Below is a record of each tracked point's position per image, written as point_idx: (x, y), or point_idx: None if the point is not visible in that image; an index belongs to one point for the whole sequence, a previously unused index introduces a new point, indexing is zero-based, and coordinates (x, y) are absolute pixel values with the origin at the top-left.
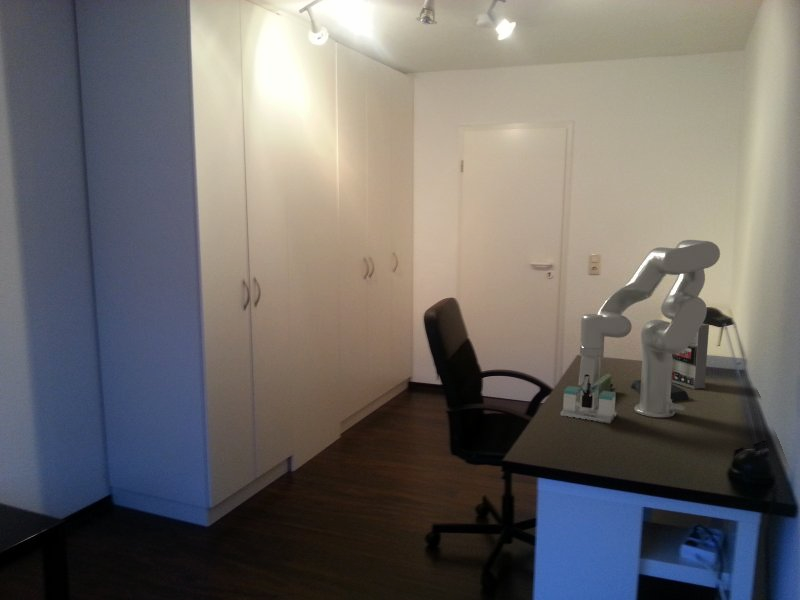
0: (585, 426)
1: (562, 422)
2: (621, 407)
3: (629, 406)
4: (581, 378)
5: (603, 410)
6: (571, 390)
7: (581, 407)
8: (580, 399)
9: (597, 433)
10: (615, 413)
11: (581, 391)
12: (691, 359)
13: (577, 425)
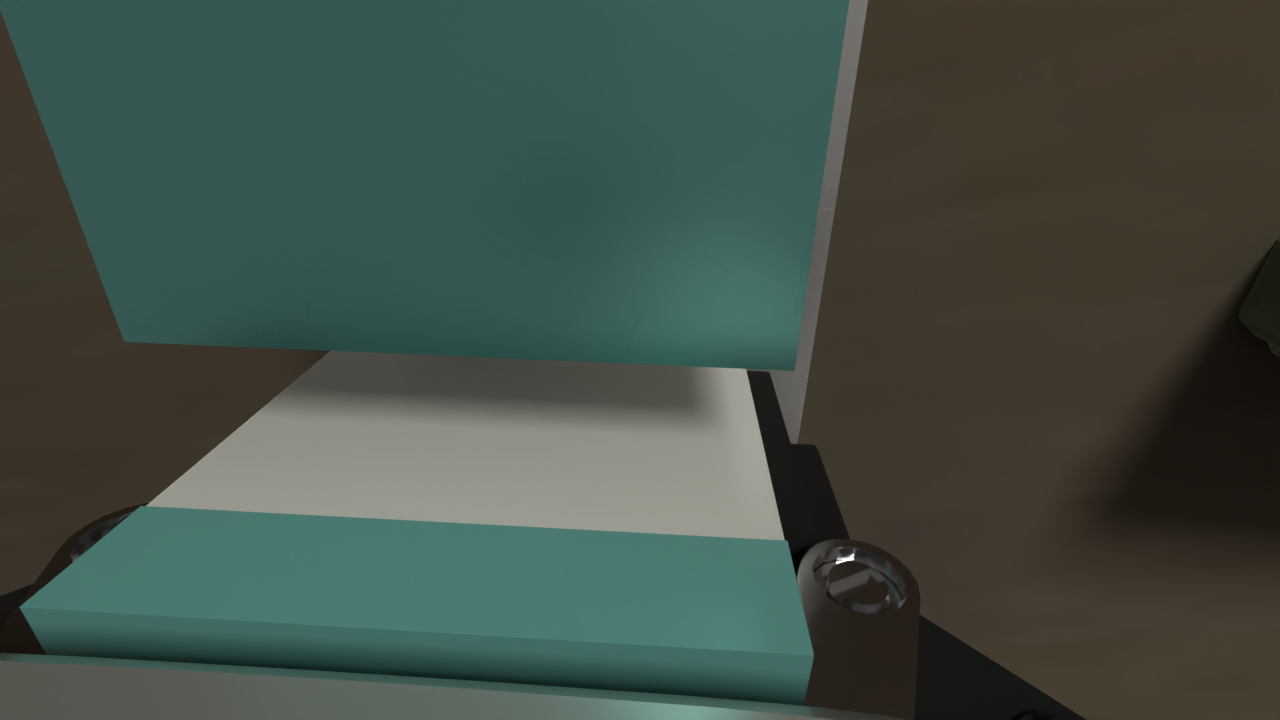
0: (126, 394)
1: (10, 80)
2: (1119, 619)
3: (1185, 677)
4: None
5: None
6: (135, 150)
7: None
8: (309, 373)
9: (26, 529)
10: None
11: (161, 519)
12: None
13: (78, 304)
